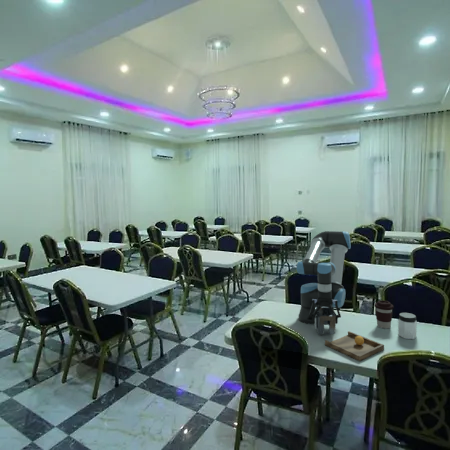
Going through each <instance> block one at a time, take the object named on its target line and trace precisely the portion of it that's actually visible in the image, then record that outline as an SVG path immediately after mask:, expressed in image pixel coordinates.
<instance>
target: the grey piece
mask: <svg viewBox="0 0 450 450" xmlns="http://www.w3.org/2000/svg"><path fill="white" fill-rule="evenodd" d="M316 308H317V307H315V310H316ZM335 313H336V312H335ZM335 313H332V311H331V310H330V308H329V307H322V306H321V308H320V309H319V311H317V314H316V329H315V330H316V333H317V334H318V335H324V331H325V326H328V334H329V335H334V334H335V331H336V330H335V320H336V315H337V314H336V315H335ZM313 325H314V326H315V323H314V324H313Z"/></svg>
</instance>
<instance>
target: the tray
mask: <svg viewBox="0 0 450 450" xmlns="http://www.w3.org/2000/svg"><path fill="white" fill-rule="evenodd" d="M357 336H361V337H362V338H363V339H364V343H363V344H362V345H357V344H356V343H355V338H356V337H357ZM324 345H325V346H326V347H328V348H331V349H333V350H334V351H337V352H338V353H341V354H343V355H345V356H347V357H350V359H351V358H352V359H354V360H355V361H358V362H362V361H364V360H366V359H367V358H369V357H371V356H374V355H375V354H378V353H380V352H382V351H384V350H385V345H384V344H383V343H380V342H378V341H375V340H373V339H371V338H367V337H365V336H362V335H360V334H357V333H354V332H352V331H350V330H349V331H347V334H346V335H344V336H341V337H339V338H337V339H335V340H332V341H329V340H327V339H325V340H324Z"/></svg>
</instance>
